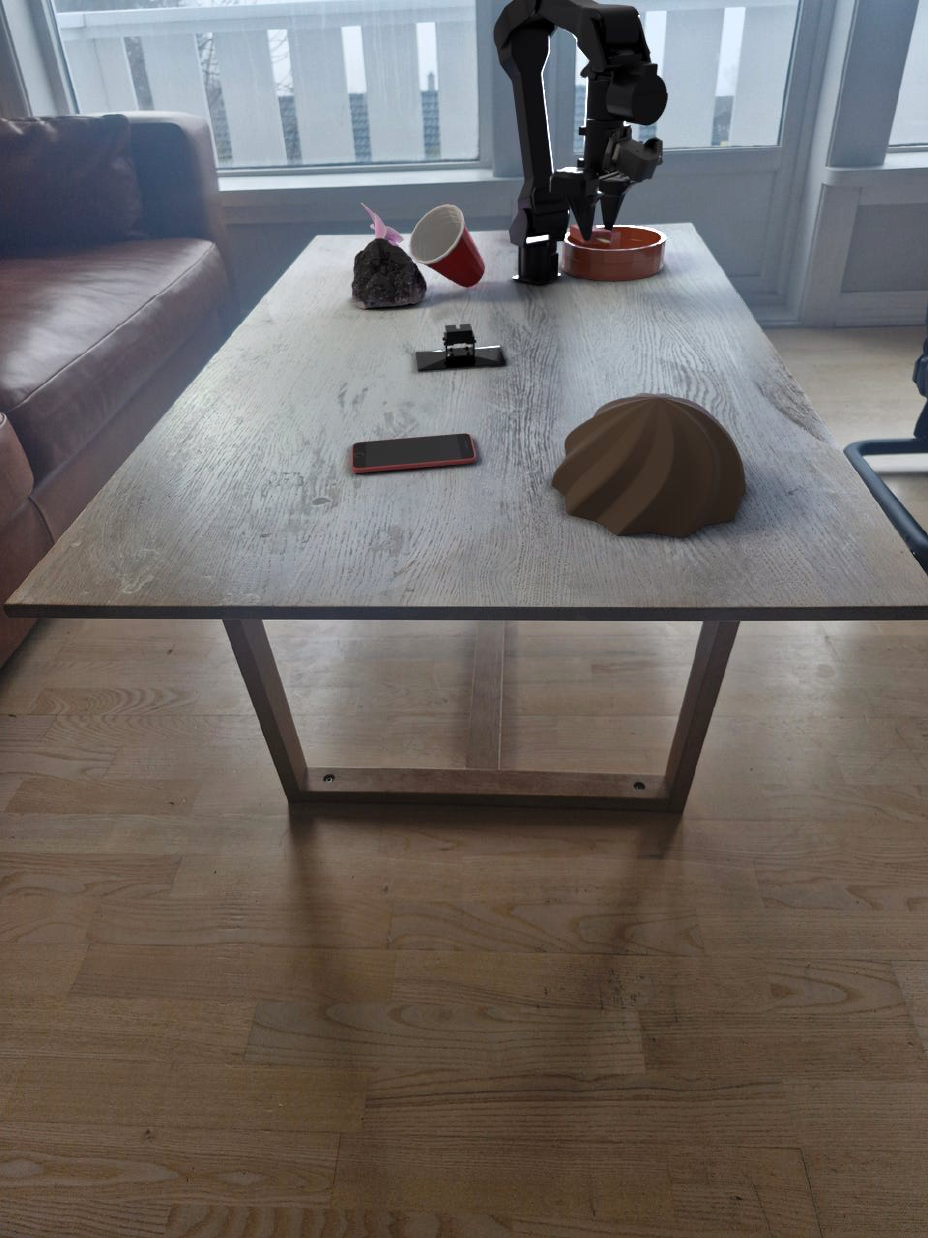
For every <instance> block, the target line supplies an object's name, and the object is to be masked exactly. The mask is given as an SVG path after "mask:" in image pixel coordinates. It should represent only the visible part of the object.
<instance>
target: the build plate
mask: <svg viewBox="0 0 928 1238" xmlns="http://www.w3.org/2000/svg"><path fill="white" fill-rule="evenodd" d="M474 333H475V332H474V330H473V328H472V324H471V323H460V324H459V328H458V327H457V324H445V325H444V331H443V333H442V334H443V336H442V337H441V339H442V341H443V342H442V344H443V349H440V350H427V351H416V352H415V359H416V360H415V361H416V368H417V372H418V373H424V372H437V371H438V372H439V371H452V370H465V369H478V368H501V367H504V366H506V365H507V362H506V359H505V356H504V353H503V351H502V348H501V346H500V345H493V346H481V347H476V344H477V340H476V336H475V334H474ZM463 344H465V345H467V346H465V347H454V346H455V345H463ZM469 345H470V346H469ZM448 347H449V348H448Z"/></svg>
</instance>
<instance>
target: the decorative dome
mask: <svg viewBox="0 0 928 1238" xmlns="http://www.w3.org/2000/svg"><path fill="white" fill-rule="evenodd" d="M563 447H564V453H565V458H564V459H563V460H562V462H561V463H560V465H558V467H557V468H556V470H555V471H554V472H553V476H552V480H551V486H552V487H553V489H555V490H556V491H557V492H559V494H561V495H562V496H563V497H564V498H565V513H566V514H568V515H569V516H574V517H578V518H582V519H587V520H591V521H594V522H597V523H598V524H600V525H601V526H603V527H604V528H605V529H607V530H608V531H610V532H611V533H613V534H614V535H615V536H628V535H638V534H639V535H640V534H648V533H649V534H650V533H651V534H656V535H657V534H658V535H661V536H662V535H663V536H669V537H675V538H688V537H689V536H691V535H692V534H694V533H695V532H697V531H698V530H700V529H701V528H703V527H704V526H709V525H715V524H716V525H717V524H721V523H727V522H732V521H734V520H735V518H736V515H737V512H738V508H739V505H740V501H741V497H742V496H743V495H745V494H746V493H747V485H746V484H747V483H746V475H745V474H746V473H745V469H744V465H743V461H742V457H741V455H740V451H739V449H738V447H737V445H736V443H735V441H734V439H733V438H732V436H731V435H730V433H729V432H728V431H727V429H726V428H725V427H724V426H723V424H722V423H721V422H720V421H719V420H718V419H717V418H716V417H715V416H714V414H713V415H712V413H711V412H710V411H708V410H707V409H706V408H704V406H702V405H700V404H698V403H697V402H694V401H693V400H690V399H688V398H684V397H680V396H679V397H678V396H674V395H672V394H669V393H667V392H660V393H650V392H640V393H637V394H634V395H632V396H627V397H621V398H617V399H614V400H611V401H609V402H607V403H605V404H603V405H602V406H601V407H599V408H598V409H597V410H596V411H595V413H594V414H593V416H592V417H590V418H589V419H587V420H585V421H584V422H582V423H580V424H579V425H577V426H576V427H575V428H574V429H573V430H571V431H570V433H568V434H567V435H566V437H565V440H564V445H563Z"/></svg>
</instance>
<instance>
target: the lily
mask: <svg viewBox="0 0 928 1238" xmlns="http://www.w3.org/2000/svg"><path fill="white" fill-rule="evenodd" d="M360 204H361V205H362V207H364V209H365V210H366V211H367V212H368V214H369V215H370V217H371V218H372V220H373V223H371V224H370V225H369V227H370V228H371V229H372V230H373V231H374V235H375V236H374V237H375V238H383V239H388V240H389V241H390V243H391V244H392V245H396V246H398V247H400V248H402V247H401V246H400V245H399V244H401V243H402V242H404V241H405V238H404V237H403V235H401V234H400V232H398V231H397V230H396V229H394V228H392V226H389V225H386V224H385V223H384V222H383V220H382V219H381V218H380V216H379V215H378V214H377V213H375V212H373V211H372V210H371V209H370V208H369V207H368V206H367V205H365V203H363V202H360Z"/></svg>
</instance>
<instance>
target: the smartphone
mask: <svg viewBox="0 0 928 1238" xmlns="http://www.w3.org/2000/svg"><path fill="white" fill-rule="evenodd" d="M350 457H351V458H350V460H351V461H350V469H351V471H352V472H353V473H357V474H362V473H374V472H387V471H398V470H410V469H420V468H431V467H432V468H433V467H444V466H455V465H456V466H457V465H466V464H467V465H468V464H473V463H475V462H476V460H477V453H476V449H475V445H474V441H473V437H472V435H471V434H469V433H464V432H463V433H452V434H451V433H450V434H440V435H439V434H438V435H428V436H427V435H426V436H416V437H403V438H392V439H381V440H368V441H358V442H355V443H353V444H352V445H351V455H350Z"/></svg>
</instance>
